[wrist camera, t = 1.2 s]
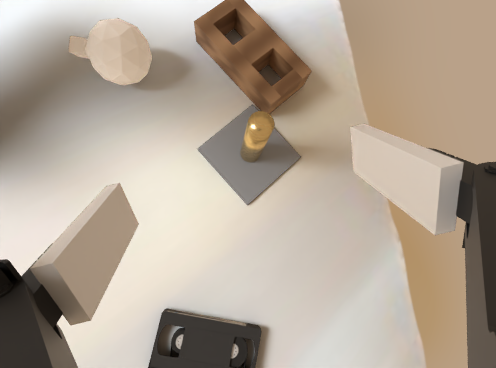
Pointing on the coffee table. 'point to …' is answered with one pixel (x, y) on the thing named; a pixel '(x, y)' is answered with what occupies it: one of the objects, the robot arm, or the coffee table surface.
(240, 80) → the walnut hole block
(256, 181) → the slate rubber mat
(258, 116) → the brass peg
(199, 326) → the vhs tape
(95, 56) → the beige faceted ovoid
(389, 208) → the coffee table surface
